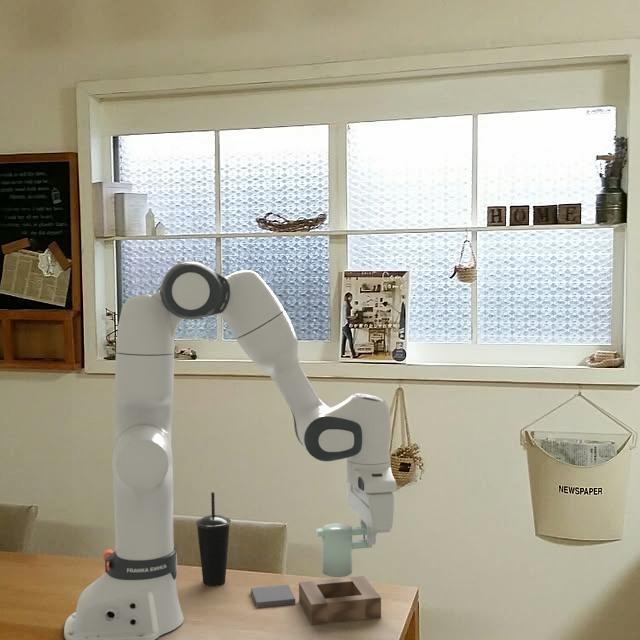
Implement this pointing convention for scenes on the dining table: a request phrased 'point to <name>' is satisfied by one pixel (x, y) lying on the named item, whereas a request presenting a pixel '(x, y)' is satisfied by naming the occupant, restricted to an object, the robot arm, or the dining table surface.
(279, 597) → the mat
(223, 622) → the dining table surface
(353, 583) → the stand
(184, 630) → the dining table surface
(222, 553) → the drinking cup
